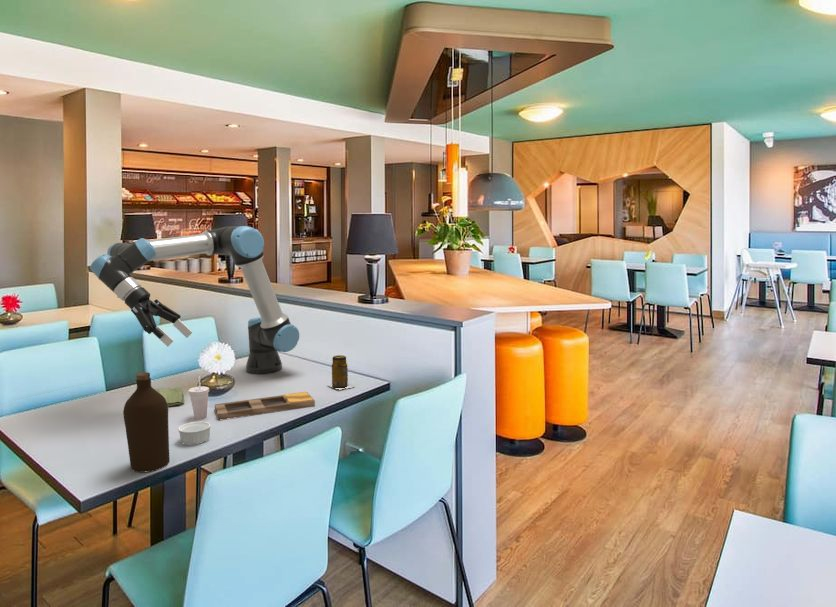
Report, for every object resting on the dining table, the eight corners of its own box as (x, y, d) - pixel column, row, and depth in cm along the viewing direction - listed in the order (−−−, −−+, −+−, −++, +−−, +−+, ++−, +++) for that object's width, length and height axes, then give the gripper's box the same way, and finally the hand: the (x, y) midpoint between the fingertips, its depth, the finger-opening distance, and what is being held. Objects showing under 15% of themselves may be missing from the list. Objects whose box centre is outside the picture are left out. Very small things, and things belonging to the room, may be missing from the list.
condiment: (343, 383, 224) (342, 353, 222) (354, 387, 218) (354, 357, 216) (327, 386, 220) (326, 356, 218) (338, 391, 213) (337, 360, 211)
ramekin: (188, 434, 172) (187, 420, 171) (216, 435, 171) (215, 421, 170) (173, 445, 163) (172, 431, 162) (202, 446, 162) (201, 432, 161)
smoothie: (198, 422, 182) (195, 380, 180) (186, 418, 185) (183, 377, 183) (215, 416, 187) (212, 375, 185) (202, 412, 190) (200, 372, 188)
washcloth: (143, 412, 193) (142, 403, 192) (146, 397, 209) (146, 388, 209) (184, 407, 198) (184, 398, 197) (184, 392, 214) (184, 384, 213)
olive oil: (141, 477, 143) (133, 381, 139) (120, 467, 149) (112, 375, 145) (180, 462, 151) (173, 372, 148) (158, 453, 157) (151, 366, 154)
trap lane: (214, 410, 193) (214, 403, 193) (307, 397, 206) (306, 391, 206) (218, 420, 183) (218, 413, 183) (314, 405, 197) (314, 399, 196)
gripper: (145, 297, 198) (190, 339, 199) (103, 307, 173) (154, 355, 175) (159, 282, 197) (203, 324, 198) (118, 290, 172) (169, 339, 174)
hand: (180, 339), depth 186 cm, fingers open, 13 cm apart
